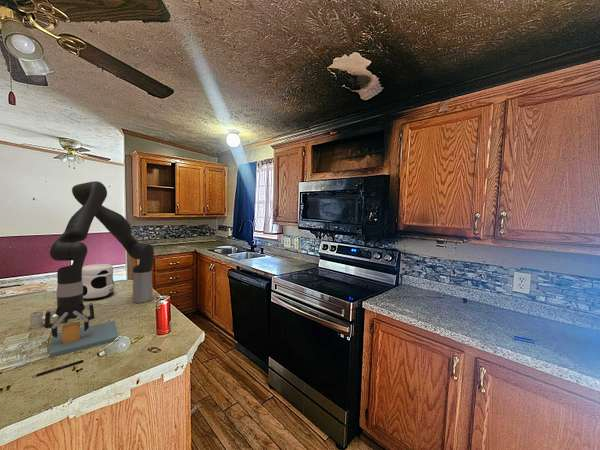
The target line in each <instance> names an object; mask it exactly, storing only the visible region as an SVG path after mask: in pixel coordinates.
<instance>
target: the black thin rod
mask: <svg viewBox="0 0 600 450" xmlns="http://www.w3.org/2000/svg"><path fill="white" fill-rule="evenodd" d="M82 363H84V359H81V360H78V361H75V362H71V363H69V364H65V365H62V366H61V365H60V366H58V367H55V368H51V369H48V370H45V371H42V372H39V373H36V374H33V375H32V377H31V378H32V379H33V378H36V377H37V378H38V377H40V376H44V375H46V374H50V373H53V372H56V371H60V370H63V369H66V368H69V367H72V366H75V365H79V364H82Z"/></svg>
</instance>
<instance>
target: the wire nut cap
mask: <svg viewBox="0 0 600 450" xmlns="http://www.w3.org/2000/svg"><path fill="white" fill-rule="evenodd" d="M80 328H81V324H80V321H71V322H66V323H65V324H63V325H61V332H62V343H70V342H75V341H77V340H78V339H80Z"/></svg>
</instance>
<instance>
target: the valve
mask: <svg viewBox="0 0 600 450" xmlns="http://www.w3.org/2000/svg"><path fill="white" fill-rule="evenodd" d="M58 317H59V316H58V315H56V314H54V315H53V316H52V317H50V320H57V318H58ZM29 318H30V319H29V323H30V330H31V329H32V330H36V329H41V328H42V327H43V326H44V323H45V315H44V313H43V311H41V310H38V311H33V312H30V314H29ZM64 322H66V323H67V322H68V320H64Z"/></svg>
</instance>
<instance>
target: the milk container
mask: <svg viewBox="0 0 600 450" xmlns="http://www.w3.org/2000/svg"><path fill="white" fill-rule="evenodd" d="M113 270H114V267H113V264H110V263H94V264H88V265H87V264H86V265H83V267H82V284H83V300H96V299H102V298H106V297H109V296H111V295H112V294H113V293H114V292H115V289H116V288H115V287H116V286H115V282H114V272H113Z"/></svg>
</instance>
